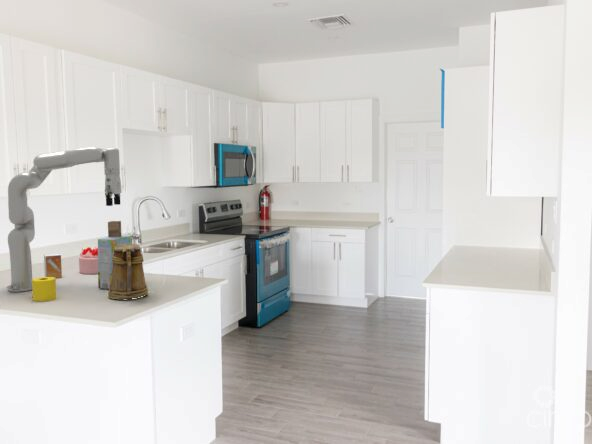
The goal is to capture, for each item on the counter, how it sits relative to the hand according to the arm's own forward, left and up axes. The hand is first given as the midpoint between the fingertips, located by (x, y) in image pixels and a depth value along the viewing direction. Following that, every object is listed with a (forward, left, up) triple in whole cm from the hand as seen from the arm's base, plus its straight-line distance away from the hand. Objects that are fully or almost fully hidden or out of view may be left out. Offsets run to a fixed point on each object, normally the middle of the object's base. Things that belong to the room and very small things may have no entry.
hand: (113, 205), depth 276 cm
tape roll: (-31, +22, -42) cm, 57 cm away
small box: (+17, +44, -42) cm, 63 cm away
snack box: (0, 0, -42) cm, 43 cm away
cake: (+37, +27, -43) cm, 62 cm away
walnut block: (0, 0, -17) cm, 17 cm away
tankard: (-26, -17, -42) cm, 53 cm away
